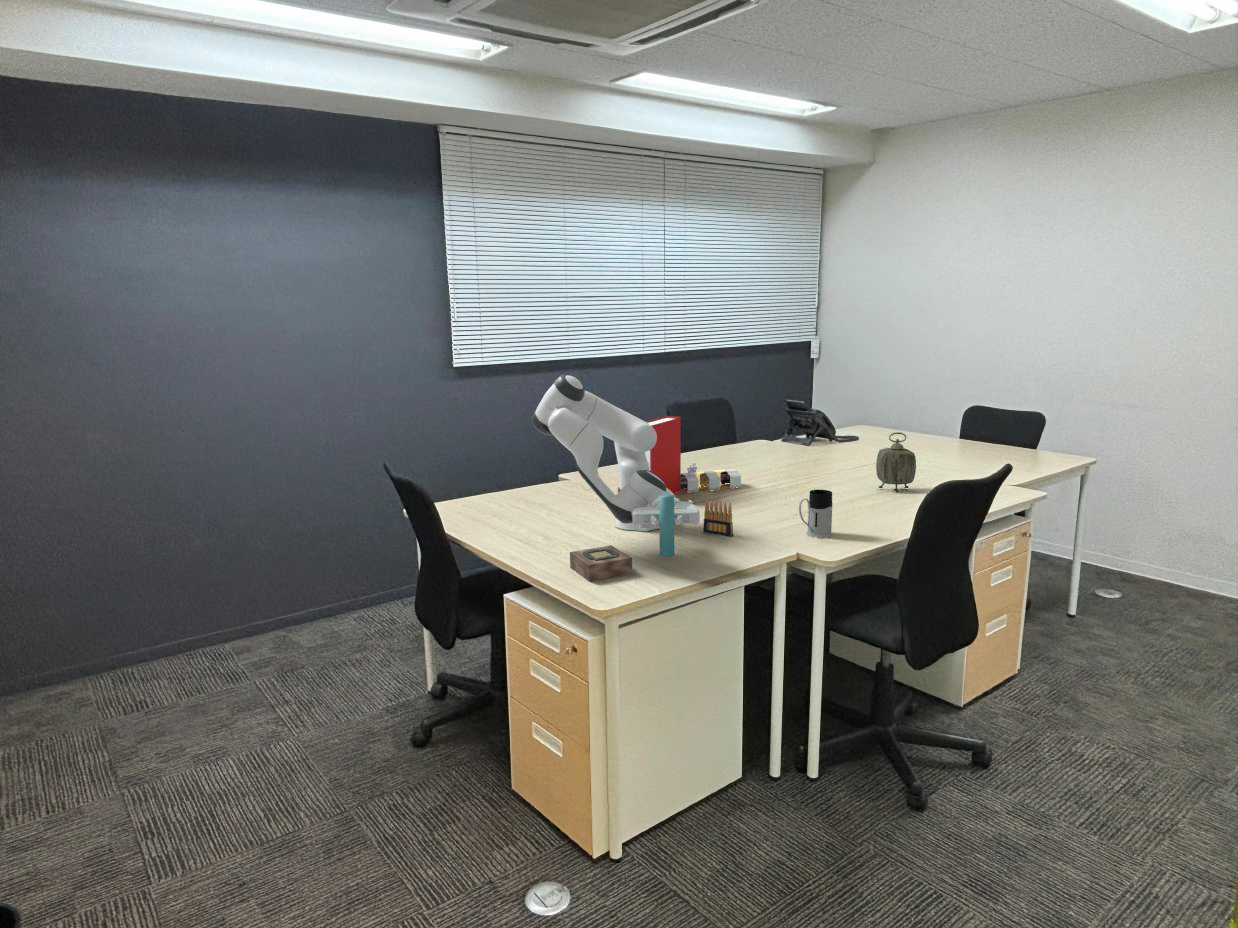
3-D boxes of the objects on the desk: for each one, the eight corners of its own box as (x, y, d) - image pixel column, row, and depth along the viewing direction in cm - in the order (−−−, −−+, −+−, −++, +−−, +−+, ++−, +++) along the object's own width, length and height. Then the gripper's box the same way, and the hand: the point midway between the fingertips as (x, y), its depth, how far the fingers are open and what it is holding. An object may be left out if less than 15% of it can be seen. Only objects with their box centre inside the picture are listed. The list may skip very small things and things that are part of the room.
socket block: (611, 560, 240) (611, 544, 239) (632, 573, 228) (632, 556, 227) (570, 567, 234) (569, 551, 233) (589, 581, 222) (589, 564, 221)
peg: (669, 551, 231) (669, 493, 227) (677, 555, 227) (676, 496, 223) (656, 554, 229) (656, 495, 225) (664, 558, 225) (663, 498, 221)
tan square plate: (604, 553, 234) (604, 550, 233) (612, 558, 229) (612, 555, 229) (588, 556, 231) (588, 553, 231) (596, 561, 226) (596, 558, 226)
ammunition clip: (733, 535, 264) (733, 501, 262) (730, 537, 263) (731, 503, 261) (705, 531, 270) (705, 498, 268) (703, 532, 269) (703, 499, 267)
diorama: (687, 494, 326) (687, 464, 323) (678, 489, 335) (678, 460, 333) (740, 489, 333) (741, 459, 331) (730, 484, 343) (730, 455, 340)
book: (651, 504, 309) (651, 425, 303) (634, 501, 313) (633, 424, 307) (682, 490, 332) (682, 416, 326) (665, 488, 336) (665, 415, 330)
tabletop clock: (909, 488, 328) (913, 430, 323) (915, 493, 319) (919, 434, 314) (874, 488, 330) (877, 430, 325) (879, 493, 321) (882, 434, 316)
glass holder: (838, 535, 263) (839, 492, 260) (808, 542, 255) (809, 498, 252) (818, 529, 270) (820, 487, 267) (789, 536, 263) (790, 493, 260)
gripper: (631, 501, 238) (631, 513, 224) (697, 500, 238) (701, 511, 224) (631, 521, 239) (631, 533, 226) (697, 519, 239) (701, 532, 225)
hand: (666, 523), depth 225 cm, fingers closed on peg, 4 cm apart
